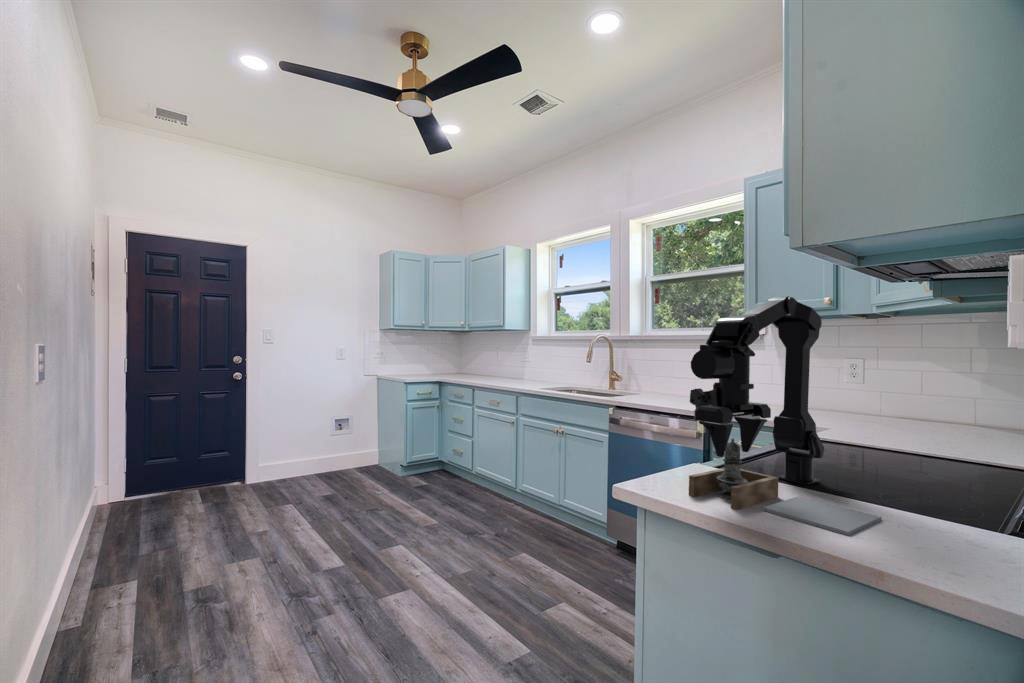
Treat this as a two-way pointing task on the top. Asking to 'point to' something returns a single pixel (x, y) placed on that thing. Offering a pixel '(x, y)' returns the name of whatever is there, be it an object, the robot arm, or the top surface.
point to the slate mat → (823, 514)
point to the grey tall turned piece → (730, 470)
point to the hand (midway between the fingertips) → (732, 454)
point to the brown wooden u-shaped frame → (737, 487)
